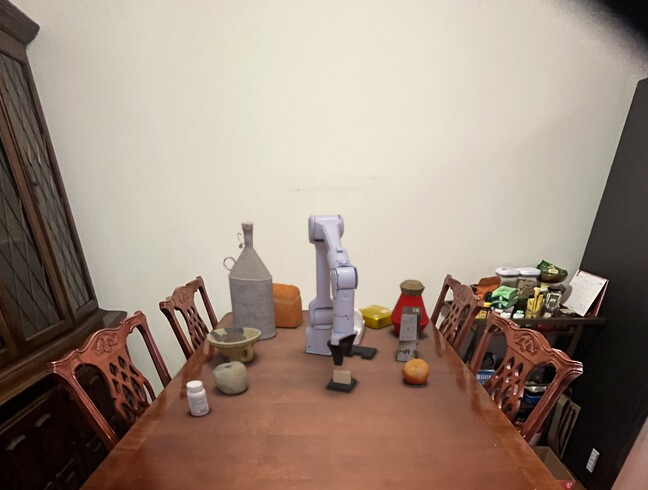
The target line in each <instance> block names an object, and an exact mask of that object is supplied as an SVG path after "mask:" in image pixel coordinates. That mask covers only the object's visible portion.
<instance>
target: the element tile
mask: <svg viewBox="0 0 648 490" xmlns="http://www.w3.org/2000/svg"><path fill="white" fill-rule="evenodd" d="M357 309H358V310H360V312H361V313H362V316H363V320H365V325H364V327H368V328H370V329H375V330H378V329H382V328H385V327H388V326H391V325H393V323H392V321H391V318H390V316H391V314H392V312H393V309H392V308H388V307H386V306H381V305H379V304H371V305H367V306H364V307H361V308H357Z"/></svg>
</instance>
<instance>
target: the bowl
mask: <svg viewBox="0 0 648 490" xmlns="http://www.w3.org/2000/svg"><path fill="white" fill-rule="evenodd" d="M260 336H261V331H260V330H258V329H254V328H246V327H234V326H233V327H222V328H218V329H217V328H216V329H214V330H212V331H210V332H208V333H207V334H206V339H207V341H208V343H209V344H210V345H211V346H213V347H215V348H216V349H217V350H218V351H219V352H220V353H221V354H222V356H224V360H225V362H226V363H231V362H240V363H242V364H244V363H249V362H252V360H253V359H254V346H255V344H256V342H257V341H259V340H258V338H260Z"/></svg>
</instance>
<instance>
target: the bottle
mask: <svg viewBox="0 0 648 490" xmlns="http://www.w3.org/2000/svg"><path fill="white" fill-rule="evenodd" d="M399 289H400V291H401V293H400V295H399V296H398V299H397V301H396V302H395V305H394V307H393V309H392V310H393V312H392V314H391V316H390V318H391V321H392V323H393V324H392V326H393V328H394V331H395V334H396V335H397V336H399V335H400V325H401V315H402V308H403V306H404V307H421V308H422V315H421V323H420V332H419V337H420V336H421V335H422V333H423V331H424V330H425V329H426V327H427V326H428V324H429V323H430V320H429V317H428V313H427V309H426V306H425V303H424V299H423V296H422V294H423V293H424V291H425V289H426V286H425V285H424V284H423V283H422V282H421V281H420V280H418V279H405V280H403V281H402V282H401V283H400V284H399Z"/></svg>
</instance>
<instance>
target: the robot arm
mask: <svg viewBox="0 0 648 490" xmlns="http://www.w3.org/2000/svg"><path fill="white" fill-rule="evenodd" d="M307 230H308V231H307V232H308V233H307V235H308V242H309V244H312V245H313V246H314V249H315V282H316V287H315V288H316V290H315V291H316V296H315V297H314V298H313V299H312V300H311V301H309V303H308V310H307V320H308V325H307V327H306V328H305V329H306V330H305V353H306V354H307V353H309V354H315V355H322V356H327V357H328V356H329V357H330V356H332V361H333V365H334V366H337V367H342V366H343V363H344V358H345V357H349V356H350V354H351V351H352V346H353V345H354V344H353V343H354V340H355V338H356V336H357V334H358V331H357V330H355V329H354V307H355V295H356V293H355V290H357V289H358V285H359V273H358V268H357V266H356V265H355V264H353V263H351V260H350V257H349V253H348V250H347V249H346V248H345V247H343V246H342V241H341V239H342V238H343V236H344V232H345V221H344V217H343V216H342V214H340V213H339V214H323V215H313V214H311V215H309V217H308V221H307ZM331 296H332V297H331Z"/></svg>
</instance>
